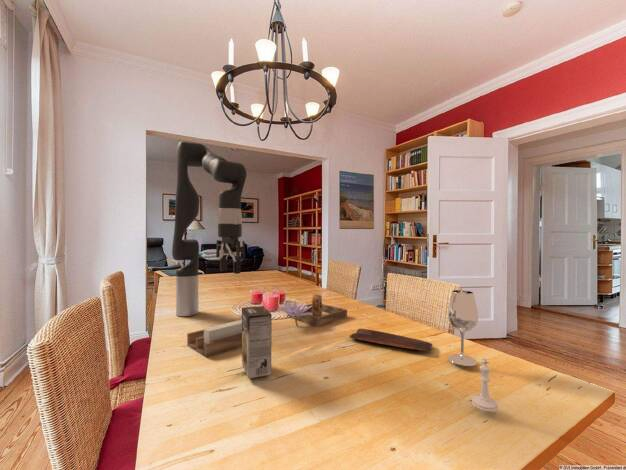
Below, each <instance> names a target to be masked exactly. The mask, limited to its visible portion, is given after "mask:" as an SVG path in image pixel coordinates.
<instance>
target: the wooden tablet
mask: <svg viewBox="0 0 626 470" xmlns="http://www.w3.org/2000/svg"><path fill="white" fill-rule="evenodd" d="M349 338H350V339H354V340H358V341H363V342H368V343H375V344H379V345H380V344H381V345H385V346H389V347H390V346H391V347H396V348H403V349H408V350H416V351H426V352H427V351H430V350H432V348H433V343H432V342H429V341H425V340H423V339H422V340H421V339H417V338H412V337H408V336H404V335H400V334H399V335H398V334H394V333H390V332H383V331H378V330H373V329H366V328H358V329H357V330H356V332H353V333H351V334H350V335H349Z"/></svg>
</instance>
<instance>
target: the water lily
mask: <svg viewBox="0 0 626 470" xmlns="http://www.w3.org/2000/svg"><path fill="white" fill-rule="evenodd" d="M305 305H306V301H305V302H303V303H302V304H301V305H300V306H299V304H298V302H297V301H294V302H293V303H292V304H290V303H288V302H286V303H283V306H278V308H279V310H280V311H282V312H284V313H286V314H287V313H288V315H290V316H295V320H294V321H295V326H296V327H299V325H298V321H297V318H296V315H299V316H305V315H312V312H307V313H303V312H305V311H306V310H308V309H309V308H311V307H312V306H309V307H307V306H305ZM304 306H305V307H304ZM298 307H299V308H298ZM300 313H301V314H300Z"/></svg>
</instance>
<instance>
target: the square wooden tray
mask: <svg viewBox="0 0 626 470" xmlns="http://www.w3.org/2000/svg"><path fill="white" fill-rule="evenodd" d="M305 306H307V307H309V306H312V303H310V304H305V305H304V307H305ZM299 307H300V306H298V308H299ZM307 312H309V313H312V307H311V308H309V309H308V310H306V311H305V312H303V313H307ZM322 313H326V314H324V315H323V314H322V315H321V316H320V317H316V316H312V314H310V315H305V316H299V315H296V318H297V322H299V323H304V324H306V325H310V326H313V327H315V328H320V327H324V326H325V325H326V326H327V325H328V324H332V323H335V322H338V321H342V320H344V319H347V318H348V309H346V308H341V307H338V306H332V305H328V304H324V303H322ZM300 314H301V313H300ZM286 315H287V316H289V318H288V319H292V320H294V321H295V316H290V315H288V313H286ZM287 316H286V317H287Z"/></svg>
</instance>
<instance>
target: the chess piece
mask: <svg viewBox="0 0 626 470" xmlns="http://www.w3.org/2000/svg"><path fill="white" fill-rule="evenodd" d="M480 364H481V365H480V366H479V370H480V373H481V375H480V376H479V378H478V379H479V380H480V381H481V389H480V394H478V395H474V396H472V398H471V403H472V405H473V406H474V407H476V408H478V409H479V410H482V411H485V412H495V411H498V409H499V405H498V403H497V401H496V400H494V399H493V398H491V397H490V393H489V386H488V383H489V382H491V381H492V380H491V378H490V377H488V376H489V374H490V372H491V368H490V366H487V365H489V364H490V361H489V360H487V358H486V357H484V358H483V360H481V361H480Z"/></svg>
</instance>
